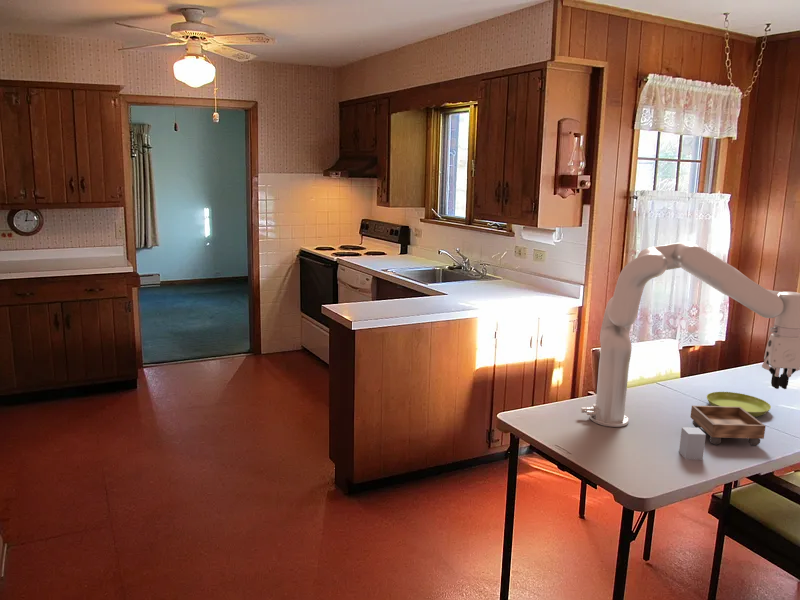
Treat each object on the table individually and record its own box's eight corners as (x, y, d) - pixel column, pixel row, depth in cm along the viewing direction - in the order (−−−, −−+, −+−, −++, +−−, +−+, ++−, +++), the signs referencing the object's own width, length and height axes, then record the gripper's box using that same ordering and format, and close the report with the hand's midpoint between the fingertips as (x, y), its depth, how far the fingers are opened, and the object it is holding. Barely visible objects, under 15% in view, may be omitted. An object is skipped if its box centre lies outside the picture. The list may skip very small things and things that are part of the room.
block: (685, 459, 192) (688, 433, 190) (679, 451, 197) (681, 427, 195) (702, 459, 192) (705, 434, 190) (695, 452, 197) (698, 427, 195)
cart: (710, 445, 201) (713, 424, 200) (689, 425, 217) (691, 405, 215) (762, 447, 201) (765, 426, 199) (737, 426, 216) (740, 406, 215)
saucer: (778, 423, 221) (779, 414, 220) (713, 417, 225) (715, 408, 224) (758, 401, 241) (759, 393, 240) (699, 397, 245) (700, 389, 244)
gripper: (767, 334, 198) (759, 391, 201) (820, 335, 197) (811, 392, 201) (755, 327, 205) (747, 383, 209) (805, 329, 204) (797, 384, 208)
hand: (778, 387), depth 205 cm, fingers closed
